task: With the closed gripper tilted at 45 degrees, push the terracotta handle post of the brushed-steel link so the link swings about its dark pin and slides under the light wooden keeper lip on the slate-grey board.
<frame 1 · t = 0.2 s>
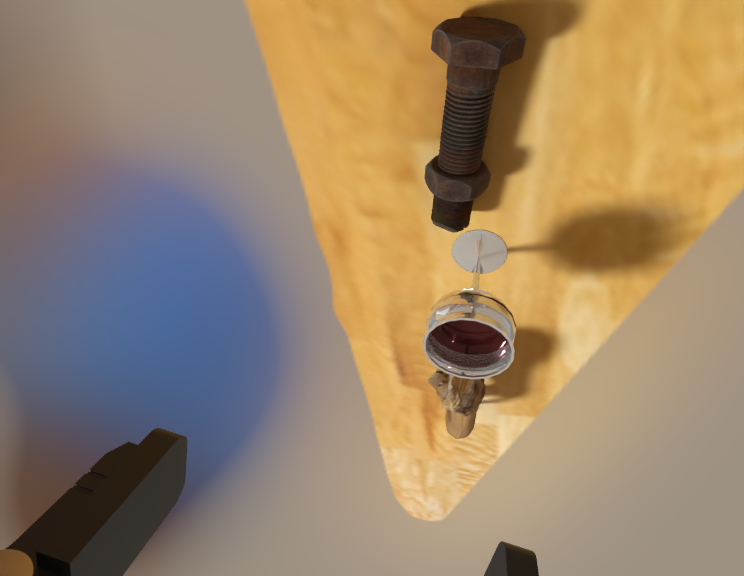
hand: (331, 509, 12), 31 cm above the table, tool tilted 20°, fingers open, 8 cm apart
lion figurine: (462, 366, 55), on the table
wineglass: (479, 251, 43), on the table
bolt: (463, 126, 36), on the table
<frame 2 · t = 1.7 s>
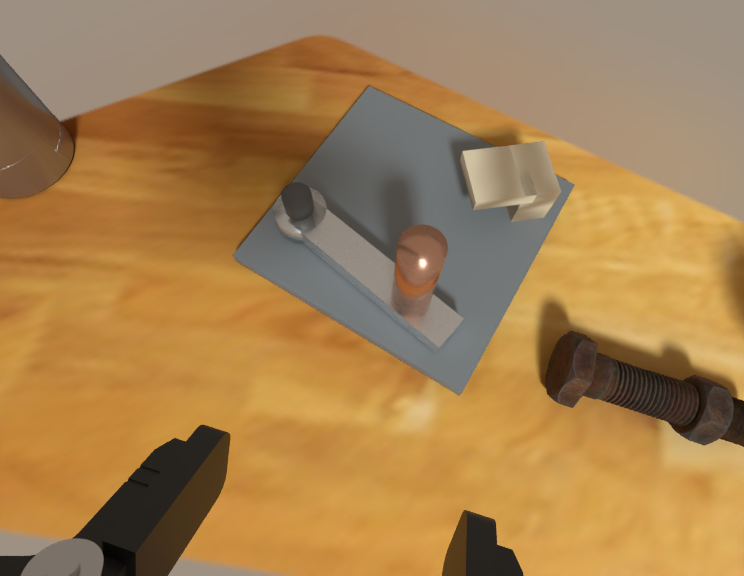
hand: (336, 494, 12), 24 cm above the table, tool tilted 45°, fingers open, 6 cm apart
link: (360, 238, 34), point 7 cm above the table, hinge at 0.0°
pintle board: (408, 225, 43), on the table
bolt: (640, 402, 37), on the table
keeper: (482, 200, 42), resting on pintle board
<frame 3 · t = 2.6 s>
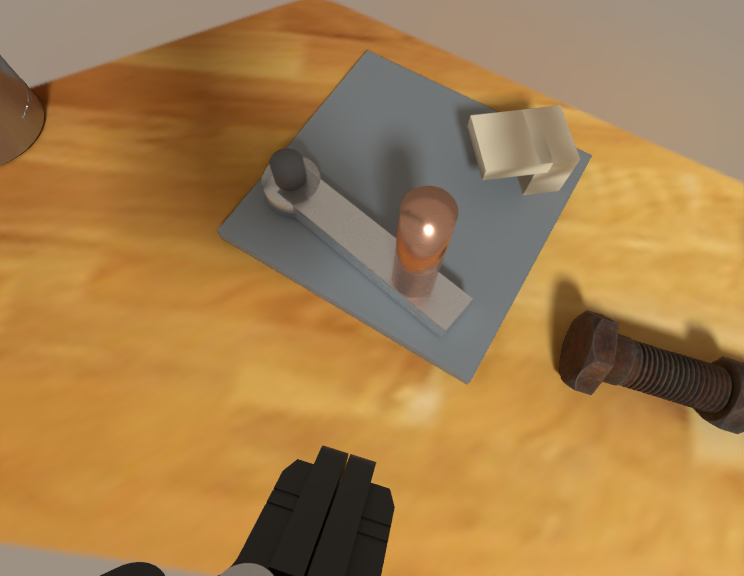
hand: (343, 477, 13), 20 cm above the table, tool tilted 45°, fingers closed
link: (357, 208, 30), point 7 cm above the table, hinge at 0.0°
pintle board: (410, 199, 39), on the table
bolt: (662, 388, 34), on the table
keeper: (491, 172, 38), resting on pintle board
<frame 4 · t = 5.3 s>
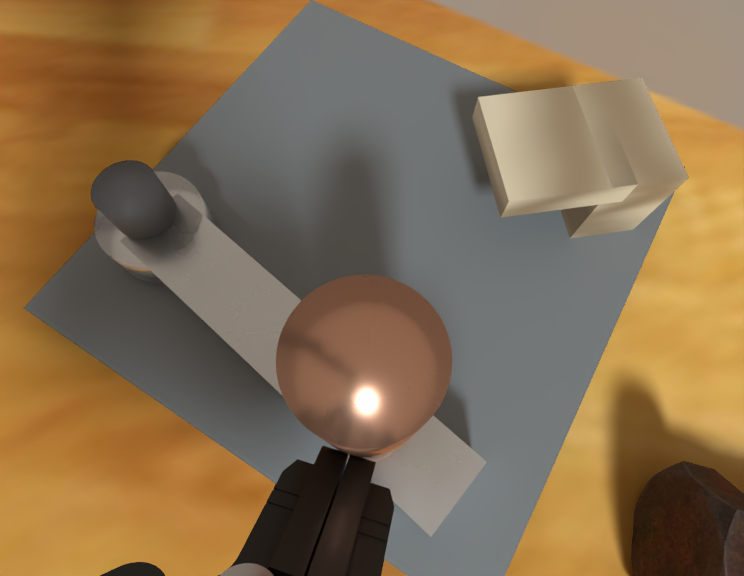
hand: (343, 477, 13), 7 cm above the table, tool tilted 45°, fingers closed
link: (242, 288, 14), point 7 cm above the table, hinge at 0.2°, touching gripper
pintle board: (374, 245, 23), on the table
keeper: (513, 197, 22), resting on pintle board
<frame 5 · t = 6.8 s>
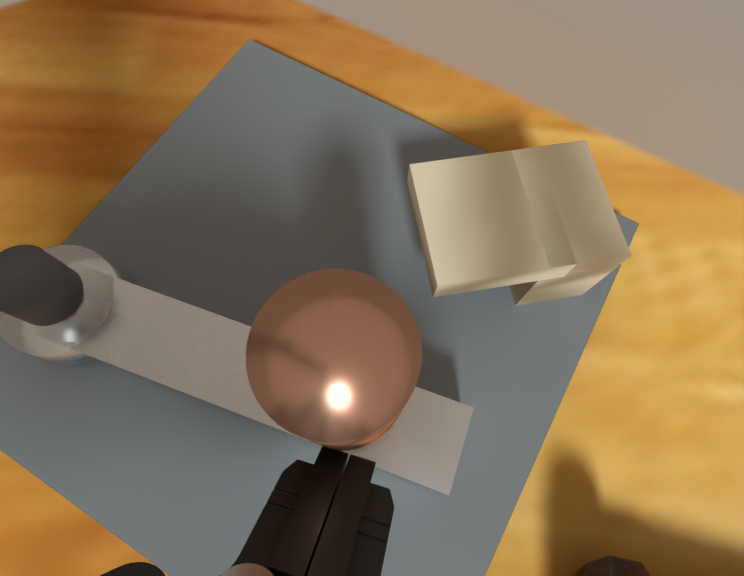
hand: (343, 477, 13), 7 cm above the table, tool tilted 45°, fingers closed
link: (184, 334, 14), point 7 cm above the table, hinge at 20.6°, touching gripper
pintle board: (311, 311, 21), on the table
keeper: (456, 259, 21), resting on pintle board
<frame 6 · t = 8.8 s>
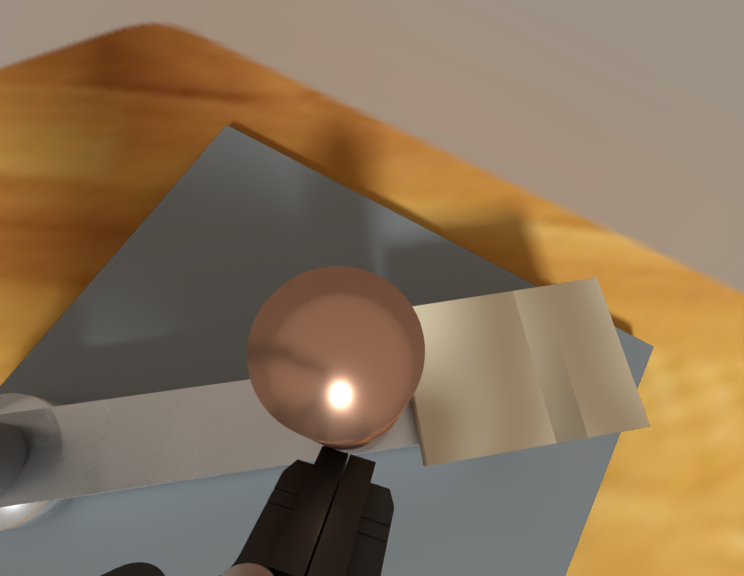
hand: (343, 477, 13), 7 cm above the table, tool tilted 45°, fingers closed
link: (162, 420, 13), point 7 cm above the table, hinge at 48.8°, touching gripper
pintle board: (289, 445, 19), on the table
keeper: (451, 391, 19), resting on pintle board
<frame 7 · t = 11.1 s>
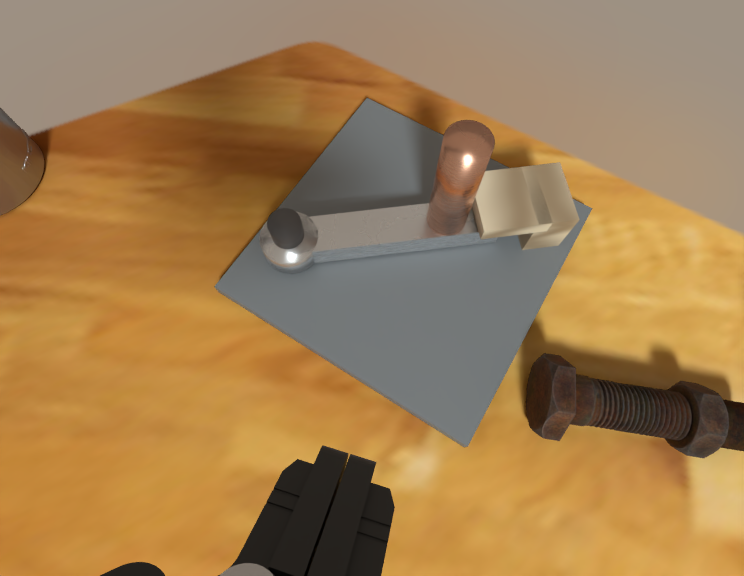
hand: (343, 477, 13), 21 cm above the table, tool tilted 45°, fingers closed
link: (380, 201, 32), point 7 cm above the table, hinge at 49.6°
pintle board: (408, 252, 39), on the table
bolt: (628, 417, 34), on the table
keeper: (490, 225, 38), resting on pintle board
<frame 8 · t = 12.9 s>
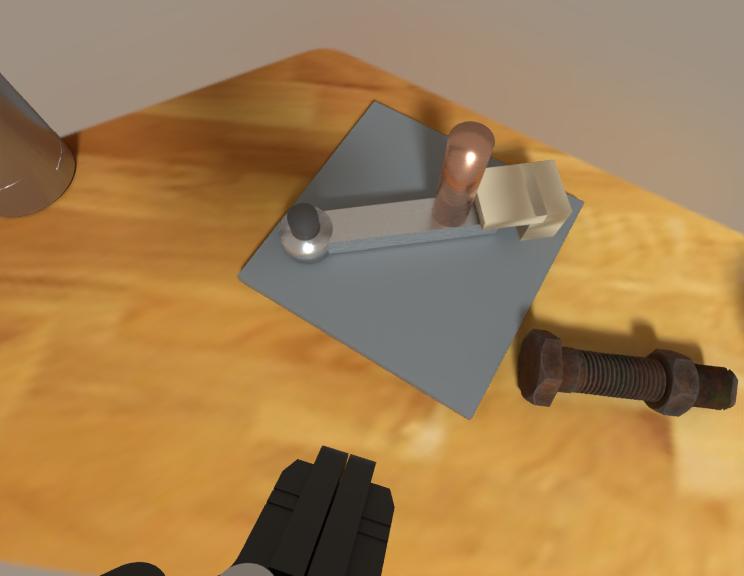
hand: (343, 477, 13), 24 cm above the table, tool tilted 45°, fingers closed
link: (391, 195, 35), point 7 cm above the table, hinge at 49.6°
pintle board: (415, 244, 42), on the table
bolt: (611, 384, 38), on the table
keeper: (490, 218, 41), resting on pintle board
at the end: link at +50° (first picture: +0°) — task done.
